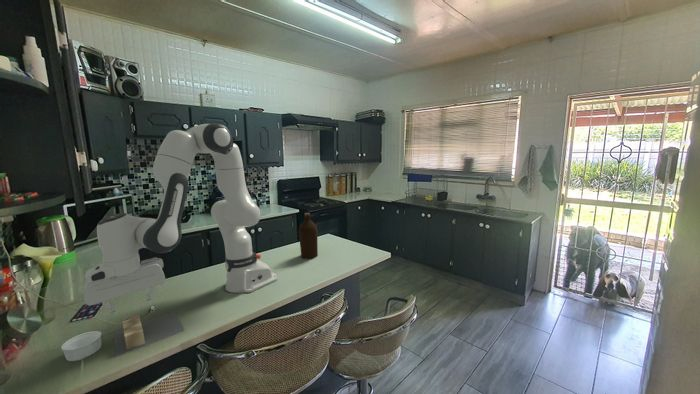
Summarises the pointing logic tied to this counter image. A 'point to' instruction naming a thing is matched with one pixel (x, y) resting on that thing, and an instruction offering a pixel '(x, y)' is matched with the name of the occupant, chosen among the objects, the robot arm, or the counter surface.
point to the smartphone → (86, 312)
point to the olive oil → (308, 238)
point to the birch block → (133, 332)
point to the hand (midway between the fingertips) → (131, 305)
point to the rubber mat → (150, 332)
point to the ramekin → (82, 345)
